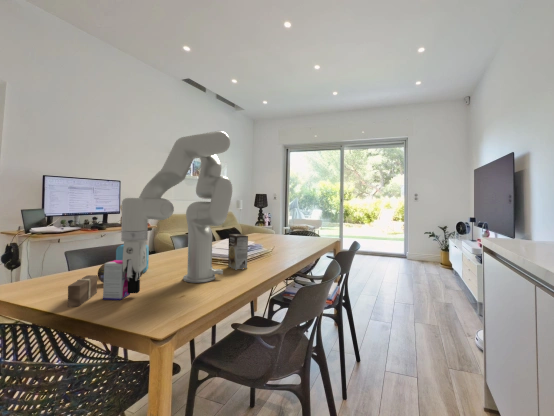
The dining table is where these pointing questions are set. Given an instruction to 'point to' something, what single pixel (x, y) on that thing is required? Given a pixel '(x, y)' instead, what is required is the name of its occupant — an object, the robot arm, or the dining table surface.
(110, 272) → the supplement box
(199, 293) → the dining table surface
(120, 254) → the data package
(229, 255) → the coffee box
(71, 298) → the brown rectangular block
